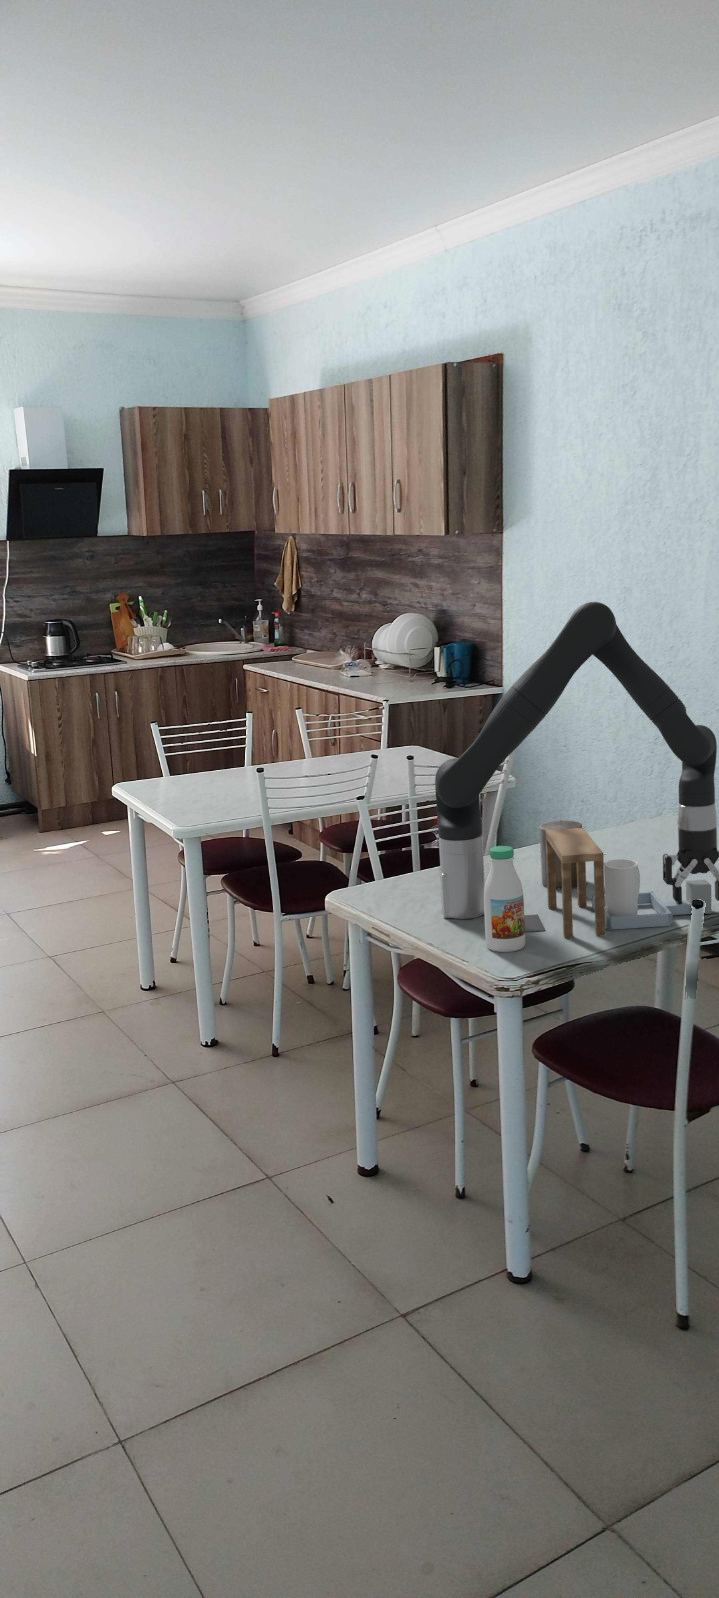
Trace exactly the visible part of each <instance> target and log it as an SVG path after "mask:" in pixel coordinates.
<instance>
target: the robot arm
mask: <svg viewBox="0 0 719 1598" xmlns="http://www.w3.org/2000/svg"><path fill="white" fill-rule="evenodd" d="M591 656H593V657H595V658H596V659H597V660H599V661H600V662H601V664H602V665H604V666H605V667H606V668H607V669H608V670H609V671H610V672H611V674H613V676H614V677H615V678H616V679H617V680H618V682H619V683H620V684H621V686H622V687H623V688H624V689H625V690H626V692H627V694H628V695H629V696H630V698H632V701H634V702H635V704H636V705H637V706H638V707H639V708H640V710H641V711H642V712H643V713H644V715H645V716H646V717H647V718H648V719H649V720H650V721H651V723H653V725H654V726H655V727H657V729H658V730H659V733H660V735H661V736H662V737H663V740H664V741H665V742H666V744H667V746H668V747H669V749H670V750H671V752H672V753H673V754H674V756H675V757H676V758H677V759H678V760H680V761H681V769H682V770H681V775H680V778H679V779H678V780H679V781H678V811H677V828H678V829H677V831H678V832H677V835H678V841H677V842H678V852H677V853H676V854H668V853H664V854H663V855H662V880H663V881H664V882H665V884H666V885H668V886H671V887H672V899H673V901H676V902H677V903H678V904H682V900H683V894H682V893H683V890H682V889H683V888H682V886H681V885H682V884H683V882H684V881H686V879H687V878H688V877H689V875H690V874H692V875H697V874H700V873H701V874H707V873H708V872H710V873H711V875H712V876H713V877H714V878H715V881H714V898H715V900H716V901H717V902H719V870H718V868H717V867H716V866H715V865H716V862H717V861H718V860H719V850H718V836H717V835H718V831H717V829H718V828H717V821H718V820H717V810H716V808H717V807H716V789H715V785H716V784H715V771H716V763H717V753H718V752H717V750H718V746H717V738H716V735H715V733H714V732H713V731H712V729H711V728H710V727H708V726H705V725H703V724H695V722H694V721H693V720H692V719H691V717H690V716H689V715H688V714H687V707H686V706H685V704H684V703H683V701H682V700H681V699H680V698H679V697H678V695H677V694H676V693H675V692H674V690H673V689H672V688H671V687H670V686H669V685H668V684H667V683H666V682H665V681H664V680H663V678H662V677H661V676H659V675H658V673H656V672H655V670H654V669H653V668H651V667H650V666H649V665H648V663H646V662H645V661H644V660H643V659H642V658H641V657H640V656H639V655H638V653H636V651H635V650H634V648H633V647H632V646H631V645H630V644H629V642H628V640H626V638H625V636H624V635H623V633H622V632H621V630H620V628H619V626H618V624H617V620H616V617H615V615H614V612H613V611H612V609H611V608H610V607H609V606H607V604H605V603H603V602H598V601H589V602H585V603H583V604H581V605H579V606H578V607H577V608H576V609H575V610H574V611H573V613H572V614H571V616H570V618H568V619H567V622H566V623H565V624H564V626H563V628H562V629H561V631H560V632H559V634H558V635H557V636H556V638H555V639H554V640H553V641H552V643H551V644H550V646H549V647H548V648H547V649H546V651H544V652H543V654H541V656H539V658H538V659H537V660H536V661H534V662H533V663H532V664H531V665H530V666H529V667H528V669H526V670H525V671H524V672H523V673H522V674H521V676H520V677H519V678H518V679H517V680H516V681H515V682H514V683H513V684H512V686H510V688H509V689H508V690H507V691H506V692H505V694H504V695H503V696H502V697H501V698H500V700H499V701H498V702H497V704H496V705H495V707H494V708H493V710H492V711H491V713H490V714H489V716H488V718H487V720H486V721H485V723H484V725H483V727H482V728H481V730H480V732H479V734H478V735H477V737H476V738H475V740H474V741H473V743H471V744H470V745H469V747H468V748H467V749H466V750H465V751H464V752H463V753H462V754H461V755H460V756H459V757H456V758H451V759H448V760H445V761H444V762H443V763H442V764H440V766H439V767H438V768H437V771H436V773H435V777H434V785H435V790H434V791H435V801H436V802H435V804H436V821H437V830H438V831H437V832H438V846H439V864H440V865H439V880H440V881H439V882H440V883H439V884H440V897H441V901H440V902H441V911H442V914H443V918H445V919H446V918H447V919H448V918H449V919H450V918H451V919H456V920H458V919H459V920H467V919H469V920H470V919H475V918H478V917H481V916H483V915H485V913H484V887H485V882H486V880H485V865H484V844H483V843H484V841H483V823H482V814H481V813H482V812H481V800H480V794H482V791H483V790H484V788H485V787H486V786H487V784H488V783H489V781H490V780H491V779H492V777H493V776H494V775H495V773H496V771H497V770H498V769H499V767H500V766H501V764H503V763H504V761H505V760H506V759H507V758H508V757H509V756H510V755H511V754H512V753H513V752H514V751H515V750H516V749H517V748H518V747H519V746H520V745H521V744H522V743H523V742H524V741H525V739H527V737H528V736H529V735H530V734H531V733H532V732H533V731H534V730H535V729H536V728H537V727H538V725H539V724H541V722H542V721H543V720H544V719H545V718H546V717H547V715H548V714H549V713H550V711H551V710H552V709H553V708H554V706H555V704H556V703H557V702H558V700H559V698H560V697H561V695H562V694H563V692H564V691H565V689H566V687H567V685H569V682H570V681H571V679H572V678H573V676H574V675H575V674H576V672H577V671H578V670H579V669H580V668H581V667H582V666H583V665H584V664H585V663H586V661H588V660H589V659H590V658H591ZM676 861H678V862H679V864H680V865H679V867H678V868H677V870H676V873H675V875H674V876H673V866H674V865H675V864H676Z"/></svg>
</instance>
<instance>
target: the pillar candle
mask: <svg viewBox="0 0 719 1598" xmlns="http://www.w3.org/2000/svg"><path fill="white" fill-rule="evenodd" d="M538 828H539V845H540V846H539V848H540V866H541V867H540V873H541V884H542V885H543V887H545V888H547V862H546V833H545V830H558V829H573V828H583V824H582V822H579V821H575V820H566V819H565V820H564V819H560V820H552V821H546V822H545V823H541V824H540V825H539V827H538ZM555 870H556V890H562V873H561V860H560V859H559V857H558V856H557V854H556V852H555ZM571 887H572V889H576V888H577V862H575V863H571Z"/></svg>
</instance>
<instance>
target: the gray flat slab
mask: <svg viewBox="0 0 719 1598" xmlns="http://www.w3.org/2000/svg"><path fill="white" fill-rule="evenodd" d="M524 917H525V934H526V933H536V932H538V933H539V932H546V928H545V926H544V924H543V922H542V920H541V918H540V916H539V914H524Z"/></svg>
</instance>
